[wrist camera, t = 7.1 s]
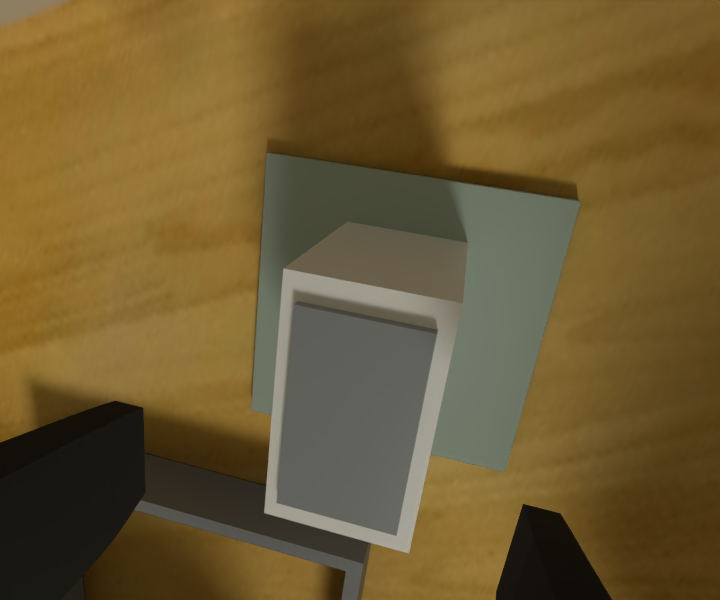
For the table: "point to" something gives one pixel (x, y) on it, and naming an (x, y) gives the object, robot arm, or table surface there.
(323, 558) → the case
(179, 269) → the table surface
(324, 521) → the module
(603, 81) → the table surface
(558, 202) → the rubber mat
